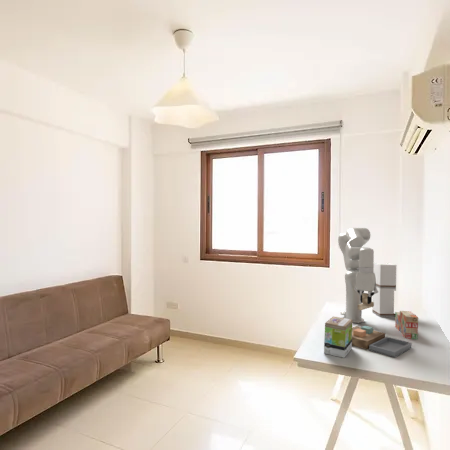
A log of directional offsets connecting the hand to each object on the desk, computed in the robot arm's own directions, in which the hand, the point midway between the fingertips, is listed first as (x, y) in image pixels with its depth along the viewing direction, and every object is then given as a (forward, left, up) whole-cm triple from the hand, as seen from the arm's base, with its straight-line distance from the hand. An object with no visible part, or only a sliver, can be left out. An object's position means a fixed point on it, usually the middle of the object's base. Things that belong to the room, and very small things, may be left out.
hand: (365, 302), depth 188 cm
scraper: (0, 0, -3) cm, 3 cm away
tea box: (+4, -35, -18) cm, 40 cm away
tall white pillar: (-12, +51, -18) cm, 55 cm away
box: (+19, -12, -18) cm, 29 cm away
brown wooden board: (+4, -12, -18) cm, 22 cm away
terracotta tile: (+5, -16, -14) cm, 22 cm away
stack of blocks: (+13, +21, -18) cm, 31 cm away
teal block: (+5, -8, -14) cm, 17 cm away
